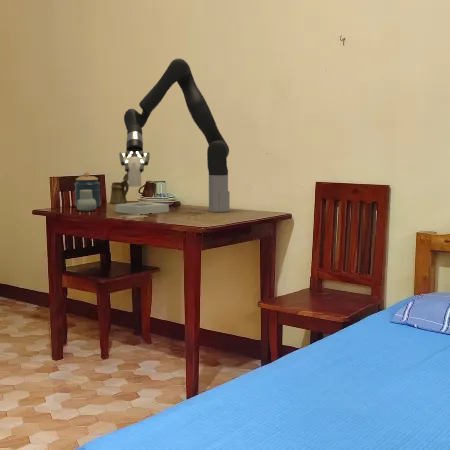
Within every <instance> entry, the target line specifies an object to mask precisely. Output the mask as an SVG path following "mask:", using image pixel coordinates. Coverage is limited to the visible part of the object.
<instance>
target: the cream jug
mask: <svg viewBox="0 0 450 450" xmlns="http://www.w3.org/2000/svg"><path fill="white" fill-rule="evenodd" d="M127 182H128V185H129V188H130V187H132V188H133V187H135V188H136V187H141V186H142V172H141V157H128V181H127Z"/></svg>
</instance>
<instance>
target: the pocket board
mask: <svg viewBox="0 0 450 450" xmlns="http://www.w3.org/2000/svg"><path fill="white" fill-rule="evenodd" d="M114 206H115V209H114V210H115V212H116V213H121V214H127V213H128V214H127V215H134V214H138V215H140V214H142V215H150V214H149V213H152V214H161V213H163V214H164V213H169V211H170V207H169V206H170V205H169V204H166V203H160V202H151V201H141V202H140V201H139V202H129V203H128V202H127V203H126V204H114Z"/></svg>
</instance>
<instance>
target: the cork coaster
mask: <svg viewBox="0 0 450 450" xmlns="http://www.w3.org/2000/svg"><path fill="white" fill-rule="evenodd" d="M118 217H119V218H122V219H127V220H128V219H129V220H136V218H137V219H145V218H144V217H147V218H149V215H146V214H142V215H138V214H125V215H119V216H118Z"/></svg>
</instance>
